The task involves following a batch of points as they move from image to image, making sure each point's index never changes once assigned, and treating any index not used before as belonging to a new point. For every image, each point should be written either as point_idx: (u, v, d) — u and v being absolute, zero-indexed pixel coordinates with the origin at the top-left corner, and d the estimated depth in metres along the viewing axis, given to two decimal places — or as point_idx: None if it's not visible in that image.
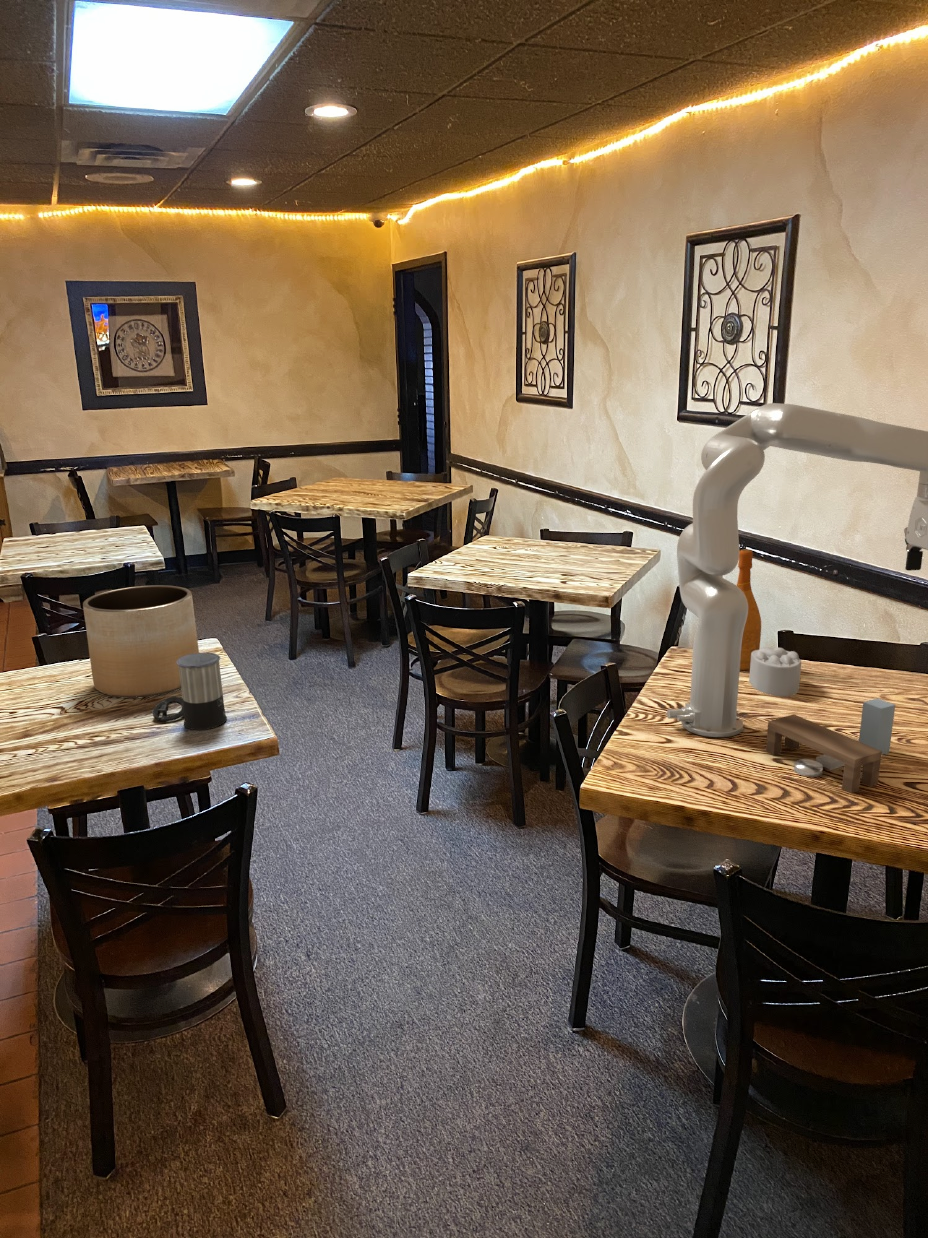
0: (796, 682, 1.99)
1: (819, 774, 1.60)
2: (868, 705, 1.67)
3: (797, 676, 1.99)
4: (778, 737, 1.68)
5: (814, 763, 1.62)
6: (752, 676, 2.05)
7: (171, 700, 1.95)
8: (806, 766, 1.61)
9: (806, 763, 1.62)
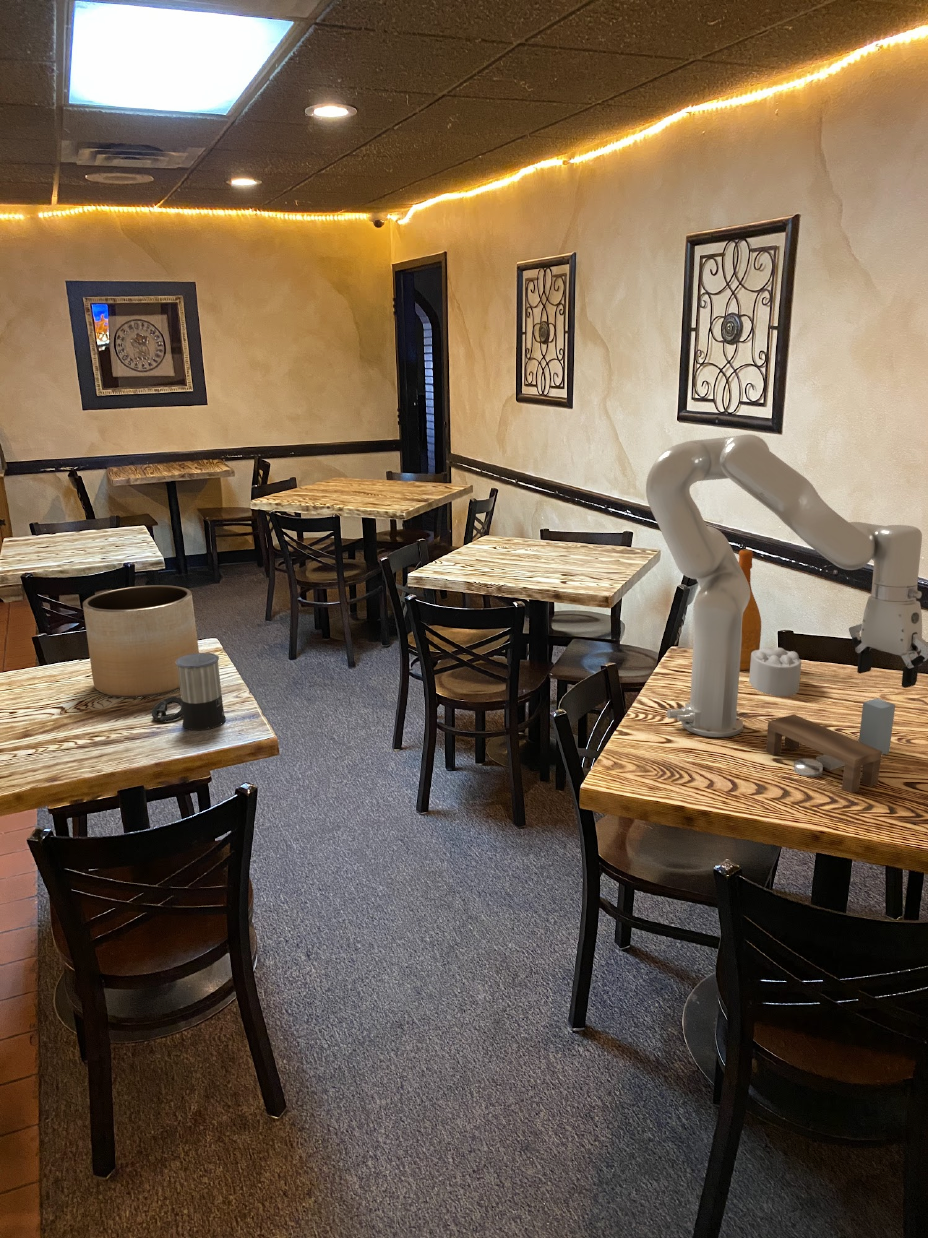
0: (796, 682, 1.99)
1: (820, 773, 1.60)
2: (868, 705, 1.67)
3: (797, 676, 1.99)
4: (778, 737, 1.68)
5: (813, 762, 1.62)
6: (752, 676, 2.05)
7: (170, 700, 1.95)
8: (807, 766, 1.61)
9: (806, 763, 1.62)
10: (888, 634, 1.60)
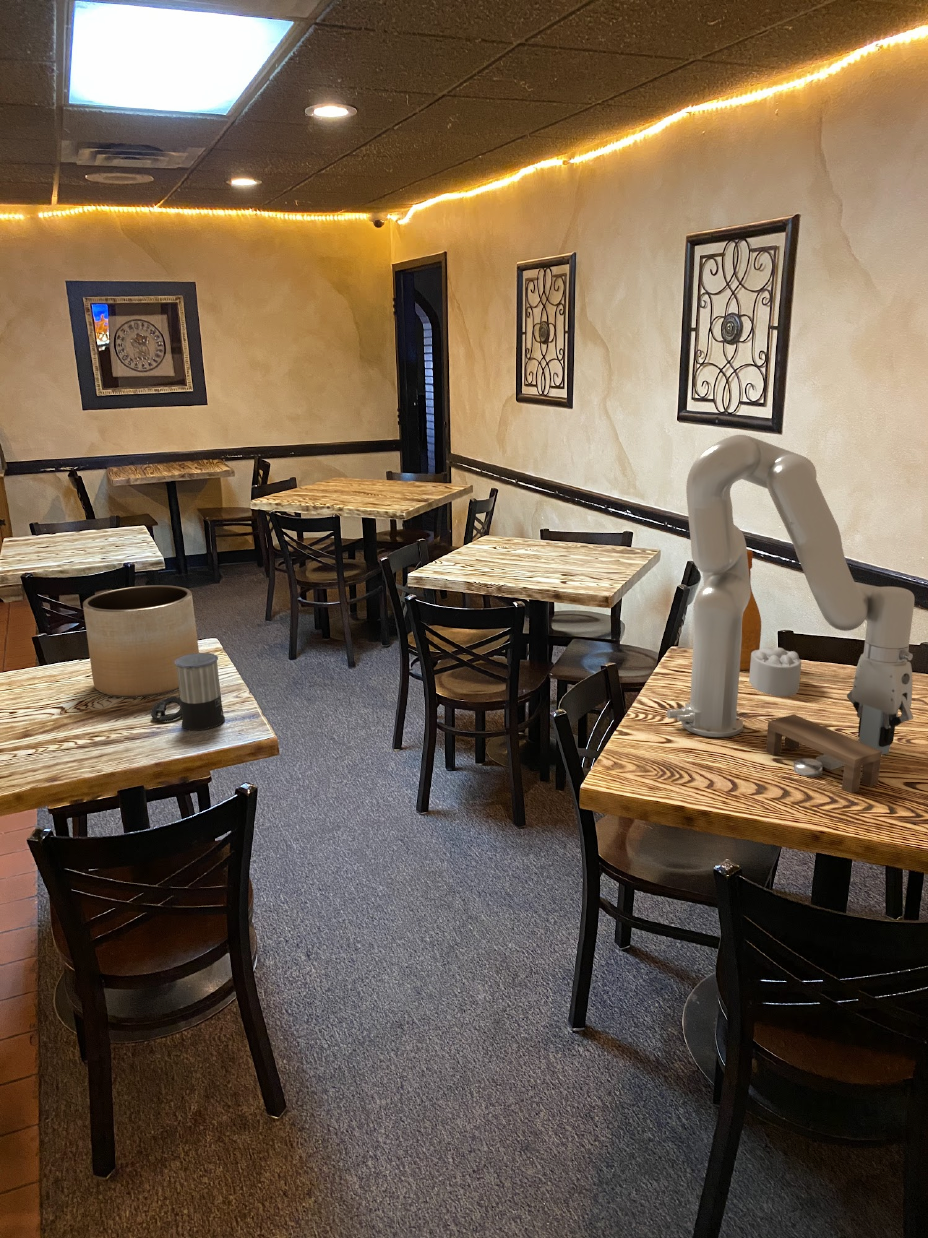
0: (796, 682, 1.99)
1: (821, 771, 1.60)
2: None
3: (797, 676, 1.99)
4: (778, 737, 1.68)
5: (811, 761, 1.62)
6: (752, 676, 2.05)
7: (169, 700, 1.95)
8: (808, 766, 1.61)
9: (804, 763, 1.62)
10: (879, 693, 1.64)
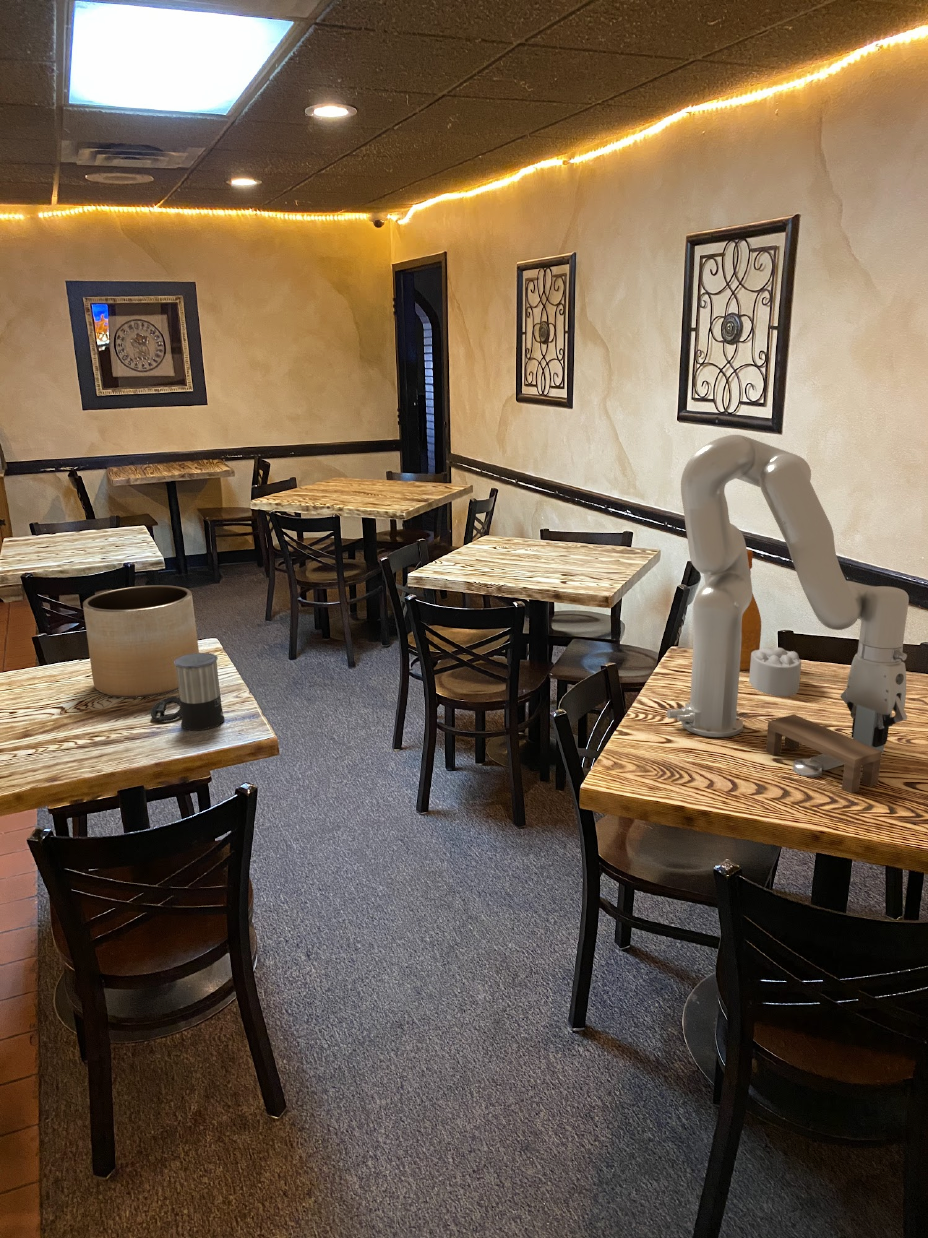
0: (796, 682, 1.99)
1: (821, 771, 1.61)
2: None
3: (797, 676, 1.99)
4: (778, 737, 1.68)
5: (809, 761, 1.63)
6: (752, 676, 2.05)
7: (169, 700, 1.95)
8: (809, 766, 1.60)
9: (804, 763, 1.62)
10: (873, 693, 1.63)
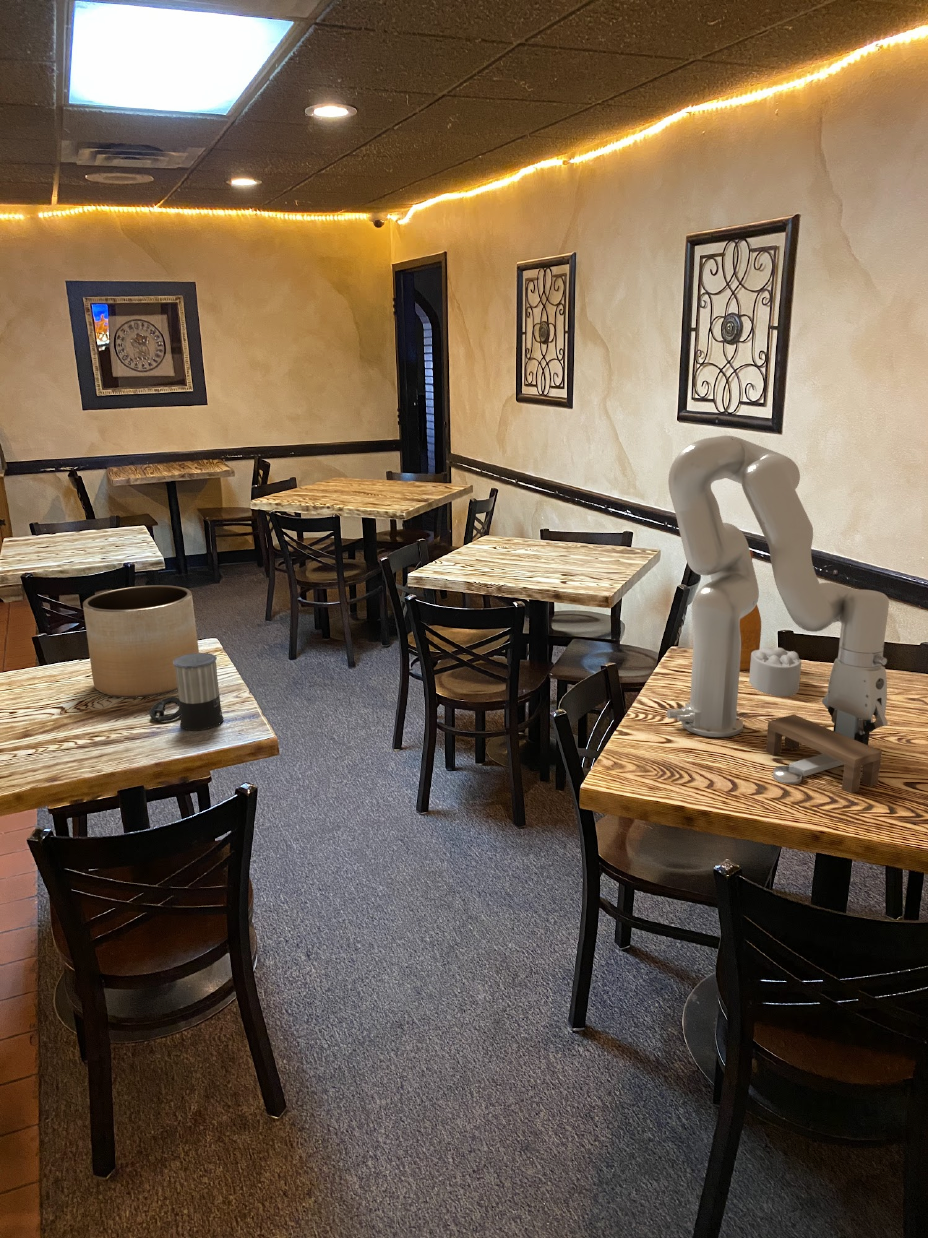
0: (796, 682, 1.99)
1: (801, 778, 1.58)
2: None
3: (797, 676, 1.99)
4: (778, 737, 1.68)
5: (788, 768, 1.60)
6: (752, 676, 2.05)
7: (168, 700, 1.95)
8: (789, 774, 1.58)
9: (783, 770, 1.59)
10: (853, 698, 1.61)
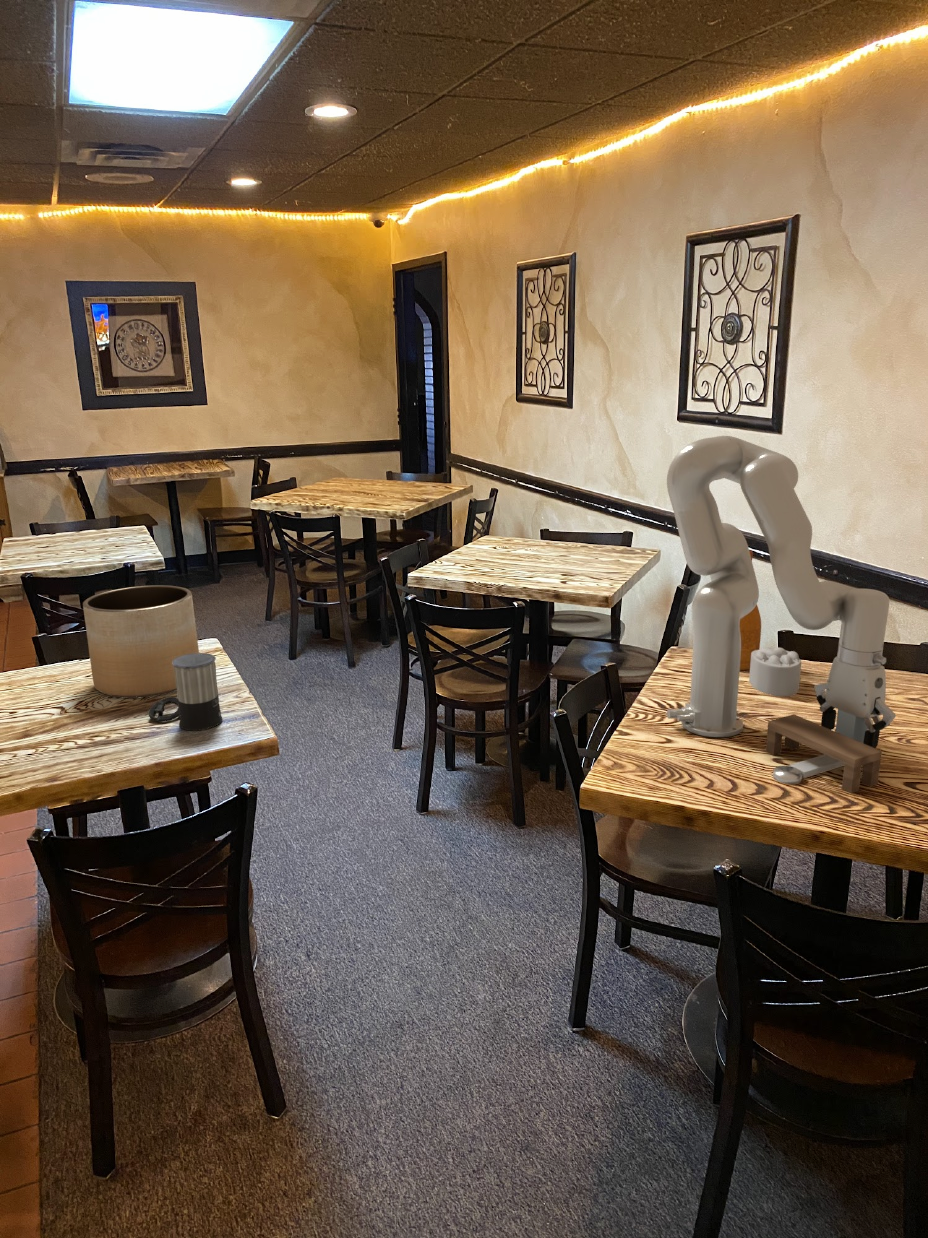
0: (796, 682, 1.99)
1: (801, 778, 1.58)
2: (843, 712, 1.64)
3: (797, 676, 1.99)
4: (778, 737, 1.68)
5: (788, 768, 1.60)
6: (752, 676, 2.05)
7: (167, 700, 1.95)
8: (789, 774, 1.58)
9: (783, 770, 1.59)
10: (852, 697, 1.61)
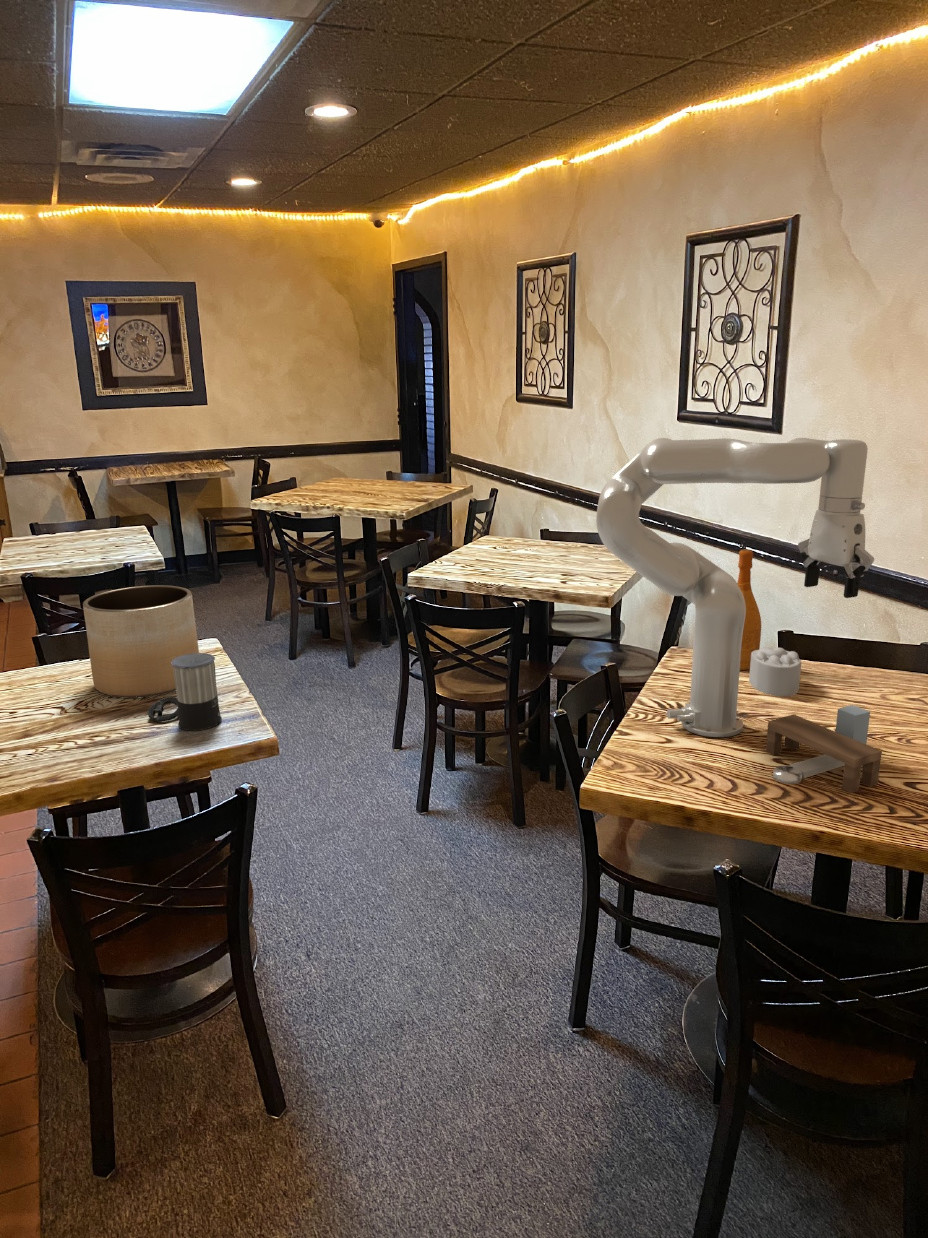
0: (796, 682, 1.99)
1: (801, 778, 1.58)
2: (843, 712, 1.64)
3: (797, 676, 1.99)
4: (778, 737, 1.68)
5: (788, 768, 1.60)
6: (752, 676, 2.05)
7: (167, 700, 1.95)
8: (789, 774, 1.58)
9: (783, 770, 1.59)
10: (833, 545, 1.66)
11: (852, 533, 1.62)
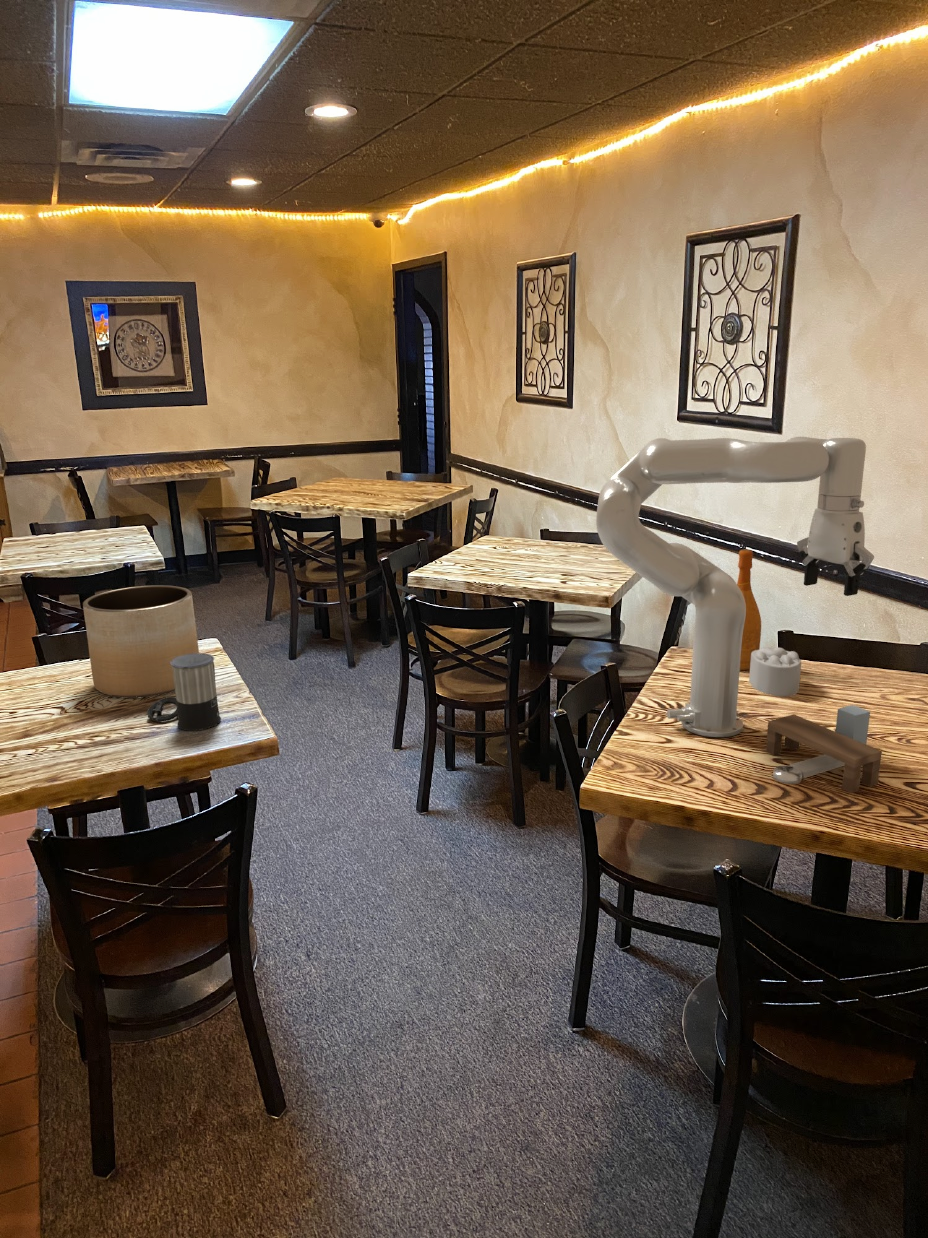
0: (796, 682, 1.99)
1: (801, 778, 1.58)
2: (843, 712, 1.64)
3: (797, 676, 1.99)
4: (778, 737, 1.68)
5: (788, 768, 1.60)
6: (752, 676, 2.05)
7: (166, 700, 1.95)
8: (789, 774, 1.58)
9: (783, 770, 1.59)
10: (832, 544, 1.66)
11: (852, 531, 1.63)
